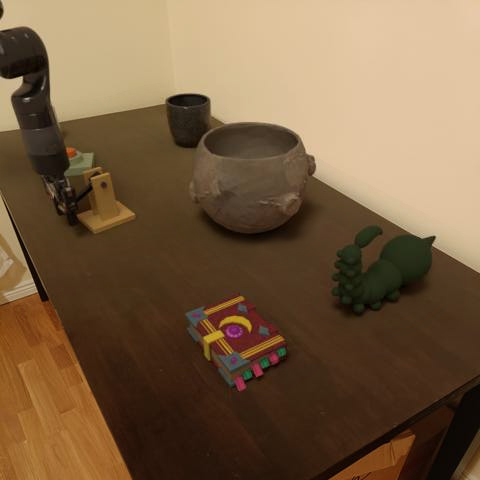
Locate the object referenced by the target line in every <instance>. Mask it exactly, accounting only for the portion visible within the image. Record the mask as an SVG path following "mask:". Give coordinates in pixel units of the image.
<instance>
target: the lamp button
mask: <svg viewBox="0 0 480 480" xmlns="http://www.w3.org/2000/svg"><path fill="white" fill-rule="evenodd" d="M66 151H67V154H68V158H72V157H75V156H76V152H75V151H76V149H75V148H74V147H66Z"/></svg>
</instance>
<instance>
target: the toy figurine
mask: <svg viewBox="0 0 480 480" xmlns="http://www.w3.org/2000/svg"><path fill="white" fill-rule="evenodd" d="M383 234H384V230H383V228H382V227H380V226H378V225H374V224H373V225H367V226H366V227H365V228H362V229H361V230H360V231H359V232H358V233H357V234H356V235H355V237H354V240H353V243H354V244H351V243H350V244H348V245H345V246H344V247H342V249H338V250H337V251H336V257H337V258H339V259H337V260H335V261H334V262H333V267H334V268H335V269H337V270H339V271H338V272H333V274H332V275H331V280H332V281H333V282H338V284H337V286H335V287H333V288H332V289H331V291H330V292H331V295H332V296H333V297H338V299H339V300H340V301H341V302H342V304H343V305H346V306H348V305H350V304H352V310H353V311H354V312H355V313H356V314H361V313H363V312H364V311H365V305H369V308H370V309H371V310H374V311H377V310H380V308H381V307H382V299H383V298H385V297H386V298H387V300H388V301H393V302H394V301H396V300H397V299H398V298H399V297H400V296H401V293H400V290H399V289H400V288H401V287H402V286H404V287H408V286H411V285H413V284H415V283H416V282H419V281H421V280H422V279H424V277H426V276H427V275H428V273H429V271H430V269H431V268H432V265H433V254H432V253H433V252H432V249H431V247H432V246H433V245H434V243H435V241H436V238H437V236H436V235H430V236H427V237H423V238H422V237H420V236H418V235H414V234H408V233H407V234H400V235H397V236H395V237H393V238H391V239H390V240H388V241H387V242H386V243H385V244H384V245H383V247H382V249H381V250H380V253H379V258H378V259H377V260H376V261H374V262H372V263H371V264H370V265H369V266H368V268H367V269H366V271H364V272H363V271H362V270H363V268H364V267H363V266H364V265H363V261H362V259H363V258H362V257H363V252H362V250H361V249H364V248H366V247H368V246H369V245H370V244H371V243H372V242H373V241H374V239H375V238H377V237H378V236H382V235H383Z"/></svg>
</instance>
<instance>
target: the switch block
mask: <svg viewBox="0 0 480 480" xmlns="http://www.w3.org/2000/svg"><path fill="white" fill-rule="evenodd" d="M75 152H76V156H75V157H72V158H69V161H70V167H69V169H68V170H66V171H65V173H64V175H65V177H73V176H83V173H82V172H84V171H87V170H90V169H94V168H95V163H96V157H95V153H94V152H84V153H83V152H81V151H80V150H75Z"/></svg>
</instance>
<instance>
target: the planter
mask: <svg viewBox="0 0 480 480" xmlns="http://www.w3.org/2000/svg"><path fill="white" fill-rule="evenodd" d="M164 105H165V107H164V108H165V112H166V119H167V124H168V129H169V132H170V135H171V136H172V138H173V140H174V141H176V142H177V144H179V145H180V146H181V147H185V148H195V147H196V148H197V147H198V144H199V142H200V140H201V139H202V137H203V135H204V134H206V133H207V132H208V131H209V130H211V127H212V121H211V120H212V102H211V98H210V97H209V96H207V95H205V94H201V93H193V92H191V93H188V92H186V93H177V94H174V95H171V96H168V97H166V99H165V100H164Z"/></svg>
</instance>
